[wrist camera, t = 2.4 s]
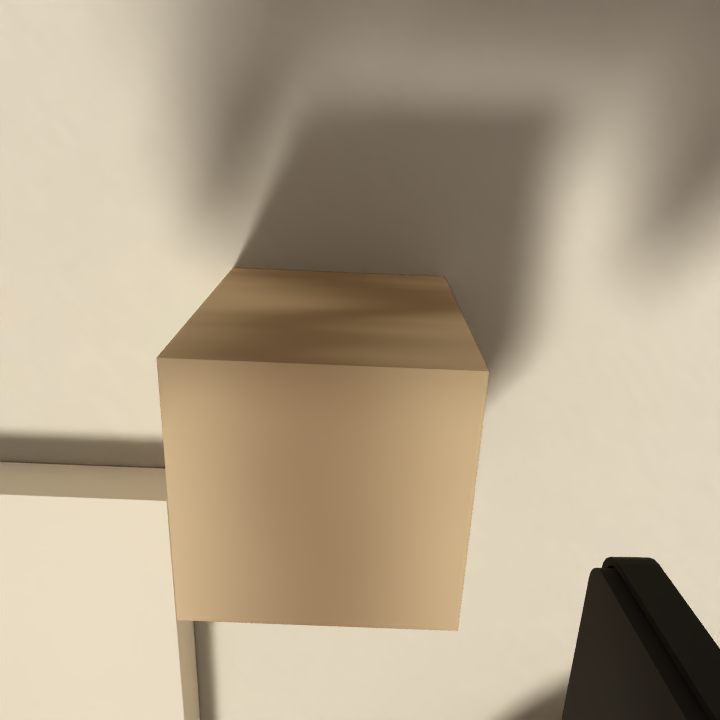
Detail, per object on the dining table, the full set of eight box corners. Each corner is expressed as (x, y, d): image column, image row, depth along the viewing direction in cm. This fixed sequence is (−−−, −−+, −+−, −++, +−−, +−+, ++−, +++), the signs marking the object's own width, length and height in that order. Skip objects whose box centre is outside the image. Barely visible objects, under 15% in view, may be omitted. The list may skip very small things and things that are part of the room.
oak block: (444, 275, 15) (489, 371, 10) (427, 460, 17) (457, 630, 12) (233, 267, 15) (156, 357, 10) (239, 452, 17) (177, 620, 11)
